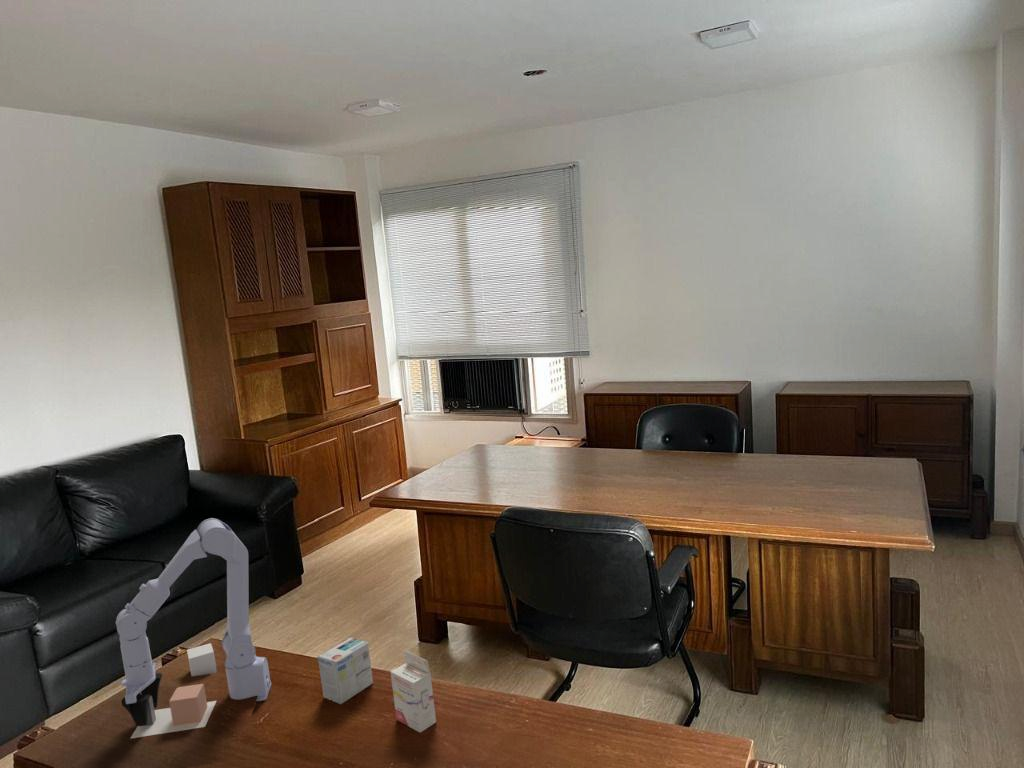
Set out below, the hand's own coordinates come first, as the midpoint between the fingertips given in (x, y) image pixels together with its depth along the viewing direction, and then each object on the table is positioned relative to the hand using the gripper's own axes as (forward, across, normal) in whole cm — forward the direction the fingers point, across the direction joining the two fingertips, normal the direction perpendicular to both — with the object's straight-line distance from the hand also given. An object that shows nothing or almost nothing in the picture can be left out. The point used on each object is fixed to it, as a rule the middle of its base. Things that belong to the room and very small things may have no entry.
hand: (147, 716), depth 178 cm
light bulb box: (+3, -3, +45) cm, 45 cm away
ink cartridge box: (+3, +15, +61) cm, 63 cm away
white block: (+3, -24, +6) cm, 25 cm away
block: (+2, 0, +9) cm, 10 cm away
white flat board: (+3, 0, +6) cm, 7 cm away
